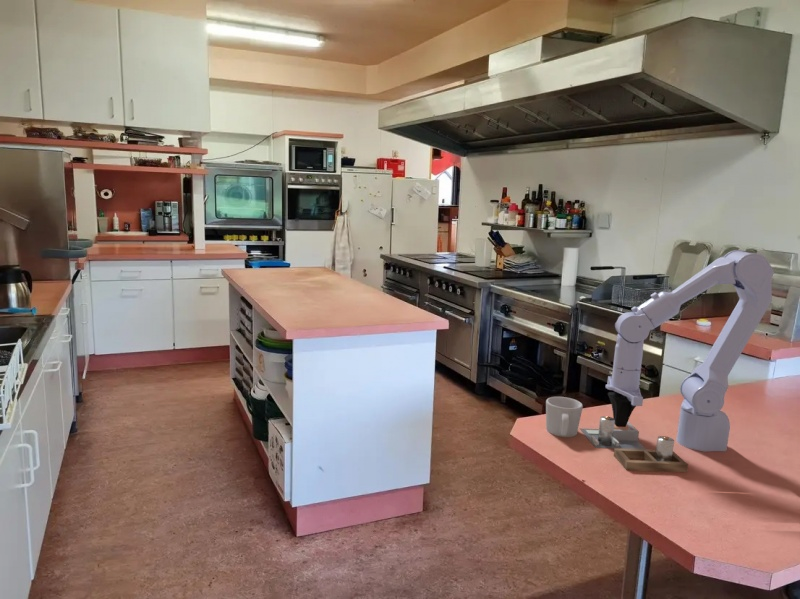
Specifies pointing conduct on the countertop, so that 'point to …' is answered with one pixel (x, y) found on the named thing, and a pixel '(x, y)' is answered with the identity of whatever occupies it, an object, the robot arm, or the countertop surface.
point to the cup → (563, 416)
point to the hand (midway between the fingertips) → (620, 425)
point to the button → (621, 427)
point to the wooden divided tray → (648, 461)
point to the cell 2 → (664, 448)
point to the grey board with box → (616, 438)
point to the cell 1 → (606, 430)
